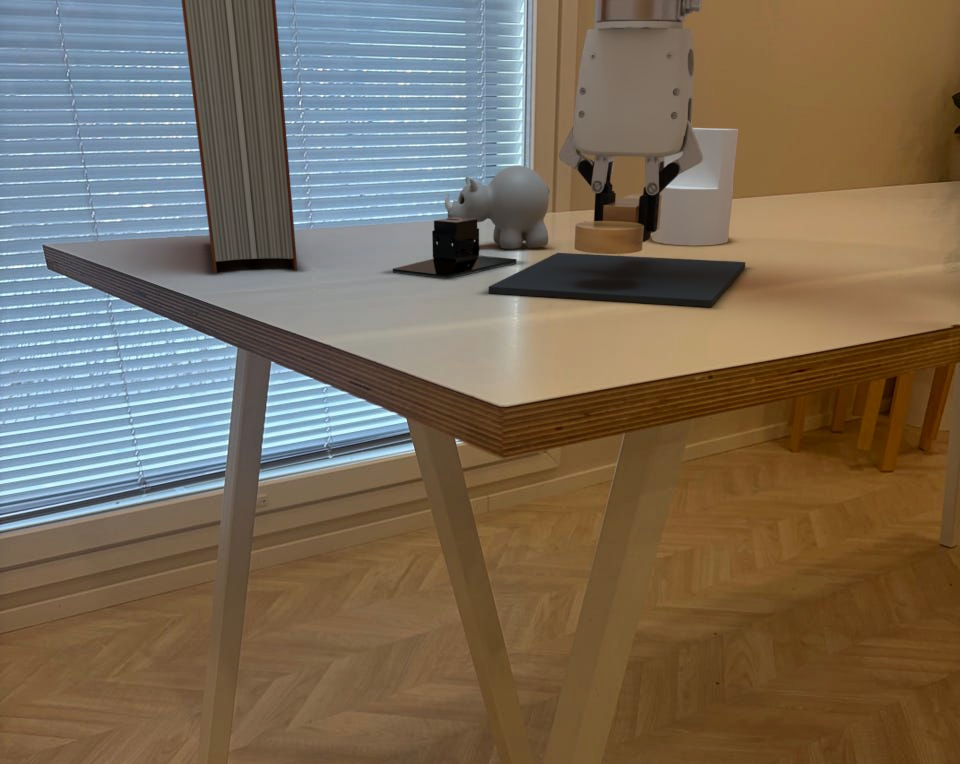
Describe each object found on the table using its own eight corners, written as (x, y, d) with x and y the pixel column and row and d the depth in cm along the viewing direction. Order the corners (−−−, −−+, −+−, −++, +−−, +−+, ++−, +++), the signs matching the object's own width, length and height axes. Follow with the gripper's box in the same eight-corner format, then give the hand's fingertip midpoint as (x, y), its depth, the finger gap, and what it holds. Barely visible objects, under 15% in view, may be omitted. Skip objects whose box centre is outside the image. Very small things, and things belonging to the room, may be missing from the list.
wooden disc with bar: (615, 226, 105) (617, 193, 104) (674, 229, 103) (677, 195, 102) (566, 251, 90) (568, 212, 88) (634, 255, 88) (636, 215, 86)
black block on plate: (463, 257, 112) (463, 212, 110) (519, 264, 108) (520, 216, 106) (391, 271, 103) (390, 222, 101) (450, 279, 100) (449, 227, 97)
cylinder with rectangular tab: (742, 239, 123) (754, 128, 118) (700, 247, 118) (711, 131, 112) (679, 233, 129) (688, 126, 123) (636, 240, 123) (643, 128, 117)
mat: (745, 268, 105) (745, 261, 105) (711, 307, 87) (711, 300, 86) (556, 258, 111) (557, 252, 111) (488, 293, 93) (488, 286, 92)
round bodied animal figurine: (440, 244, 121) (439, 164, 117) (540, 241, 123) (542, 163, 118) (450, 253, 114) (448, 169, 110) (554, 249, 116) (557, 167, 112)
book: (297, 270, 104) (267, -89, 90) (215, 273, 103) (171, -93, 88) (279, 240, 124) (253, -59, 109) (210, 243, 122) (174, -61, 108)
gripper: (742, 11, 88) (718, 238, 97) (559, 14, 93) (552, 230, 102) (730, 6, 82) (705, 249, 91) (535, 9, 87) (529, 240, 96)
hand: (624, 237), depth 97 cm, fingers closed on wooden disc with bar, 3 cm apart
